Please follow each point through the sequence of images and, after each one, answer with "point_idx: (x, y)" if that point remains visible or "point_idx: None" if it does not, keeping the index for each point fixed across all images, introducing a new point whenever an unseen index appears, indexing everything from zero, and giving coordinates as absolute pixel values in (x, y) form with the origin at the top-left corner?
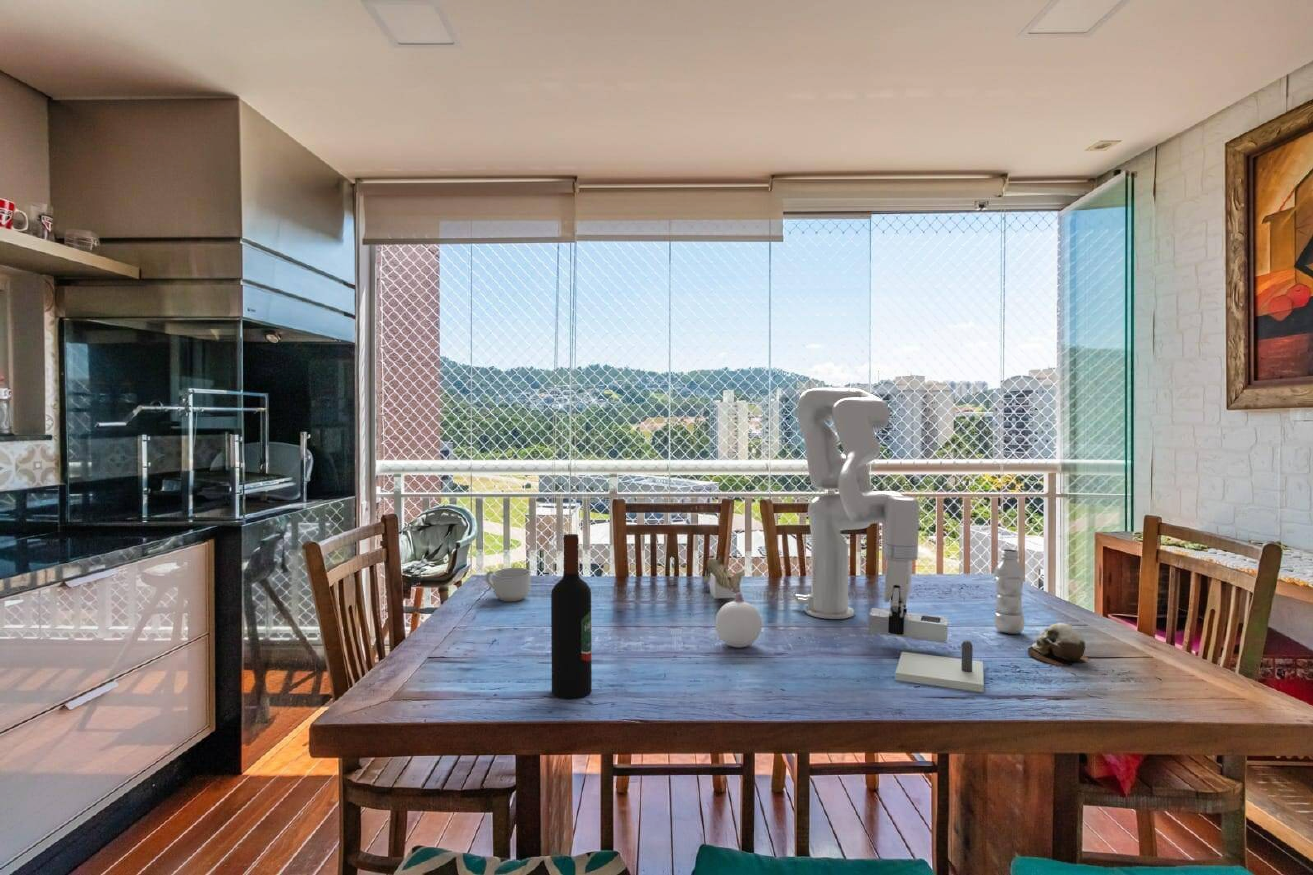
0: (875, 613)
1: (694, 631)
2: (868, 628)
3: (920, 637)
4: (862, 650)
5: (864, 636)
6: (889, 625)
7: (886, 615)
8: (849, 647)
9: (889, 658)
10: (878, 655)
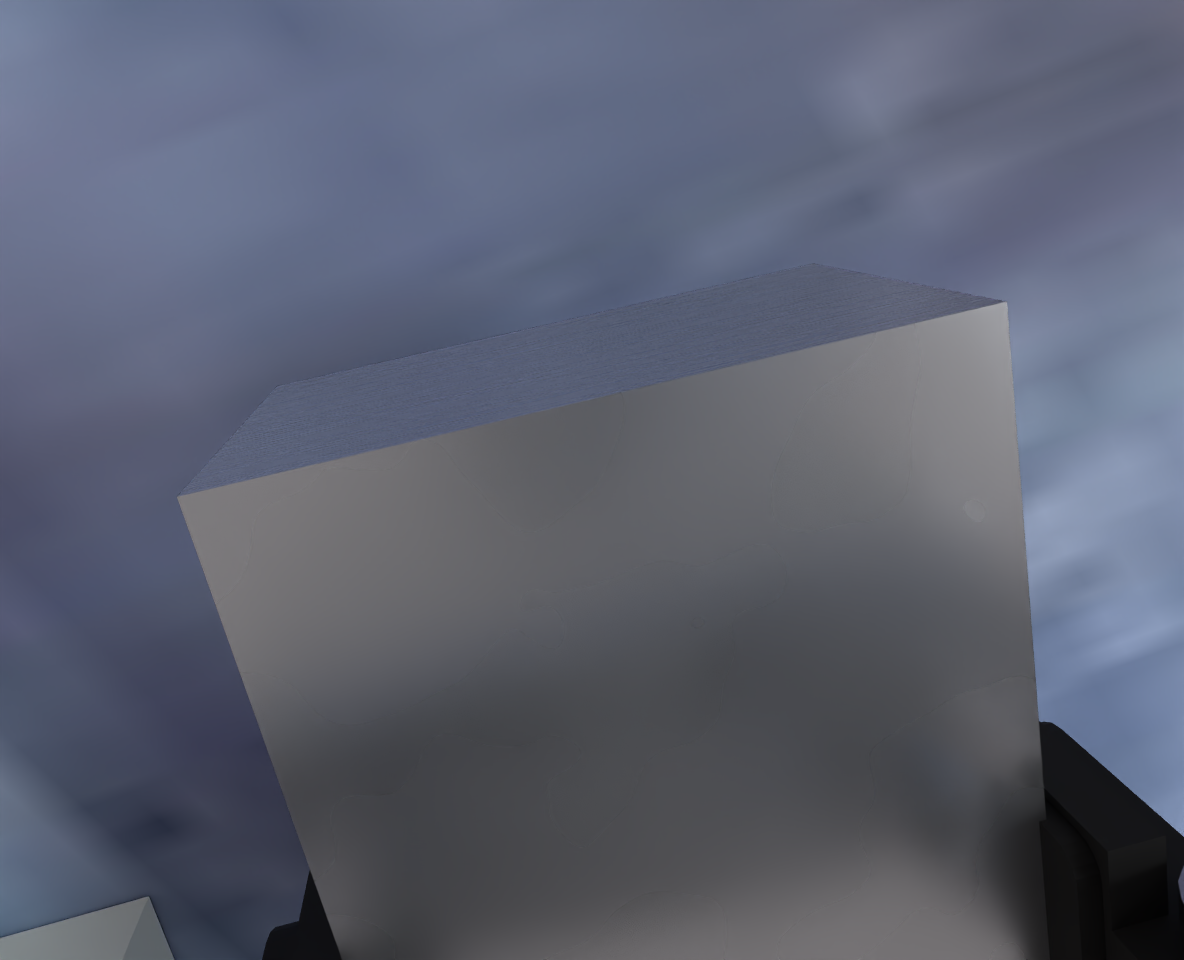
0: (483, 595)
1: None
2: (259, 407)
3: None
4: (108, 327)
5: (843, 87)
6: (311, 906)
7: (500, 883)
8: (105, 80)
9: (34, 776)
10: (50, 611)
